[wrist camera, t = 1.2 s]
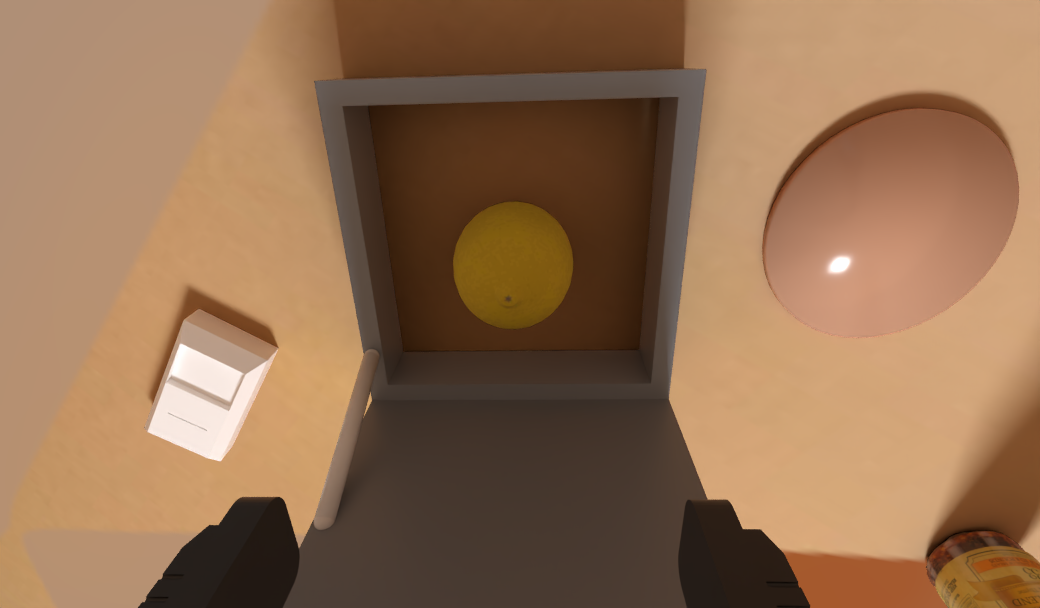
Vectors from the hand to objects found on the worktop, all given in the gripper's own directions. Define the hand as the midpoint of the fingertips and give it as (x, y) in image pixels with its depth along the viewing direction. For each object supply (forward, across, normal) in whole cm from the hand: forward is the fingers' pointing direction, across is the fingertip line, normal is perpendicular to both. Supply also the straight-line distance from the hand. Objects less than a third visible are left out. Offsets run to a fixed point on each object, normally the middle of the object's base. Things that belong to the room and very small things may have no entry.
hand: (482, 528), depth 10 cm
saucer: (+19, -19, 0) cm, 27 cm away
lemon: (+19, 0, 0) cm, 19 cm away
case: (+19, 0, 0) cm, 19 cm away
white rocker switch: (+20, +19, +9) cm, 29 cm away
